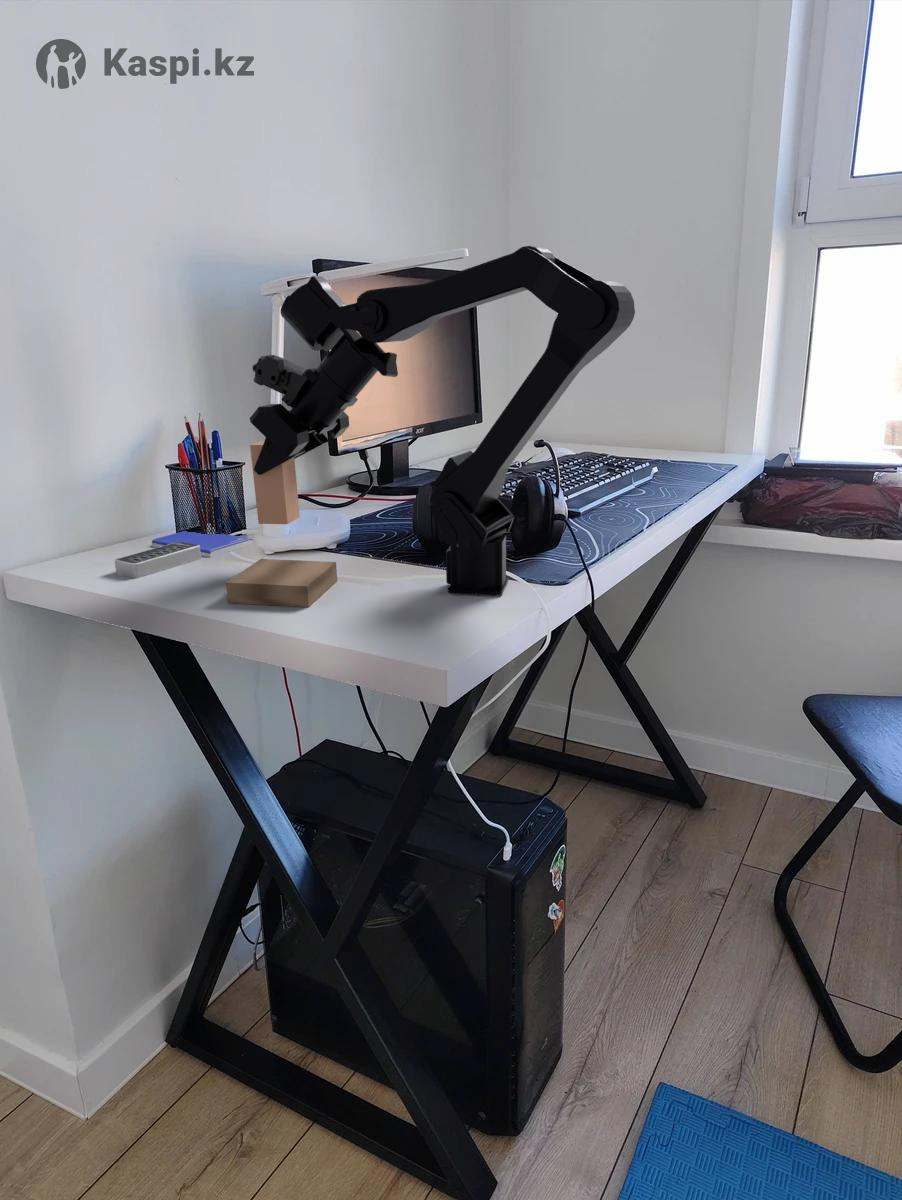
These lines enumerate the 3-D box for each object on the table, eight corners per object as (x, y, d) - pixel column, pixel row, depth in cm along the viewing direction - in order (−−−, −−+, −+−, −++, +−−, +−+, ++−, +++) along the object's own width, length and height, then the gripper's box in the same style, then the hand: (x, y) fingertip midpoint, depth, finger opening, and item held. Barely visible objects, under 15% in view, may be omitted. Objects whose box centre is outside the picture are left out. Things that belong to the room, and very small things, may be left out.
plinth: (337, 581, 107) (336, 561, 106) (308, 607, 98) (307, 586, 97) (262, 577, 109) (261, 558, 108) (227, 602, 100) (225, 582, 99)
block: (299, 517, 112) (292, 440, 109) (287, 524, 108) (279, 444, 105) (271, 516, 113) (263, 440, 110) (258, 523, 109) (250, 445, 106)
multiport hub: (115, 576, 112) (112, 559, 112) (181, 556, 121) (180, 540, 120) (136, 581, 110) (134, 564, 109) (203, 560, 119) (201, 544, 118)
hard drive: (252, 537, 125) (194, 527, 132) (209, 550, 119) (151, 539, 125) (253, 547, 126) (195, 537, 132) (210, 561, 119) (152, 549, 126)
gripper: (319, 328, 111) (250, 415, 117) (257, 332, 94) (179, 434, 100) (381, 390, 112) (309, 473, 118) (330, 404, 94) (249, 501, 100)
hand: (264, 469), depth 109 cm, fingers closed on block, 4 cm apart
